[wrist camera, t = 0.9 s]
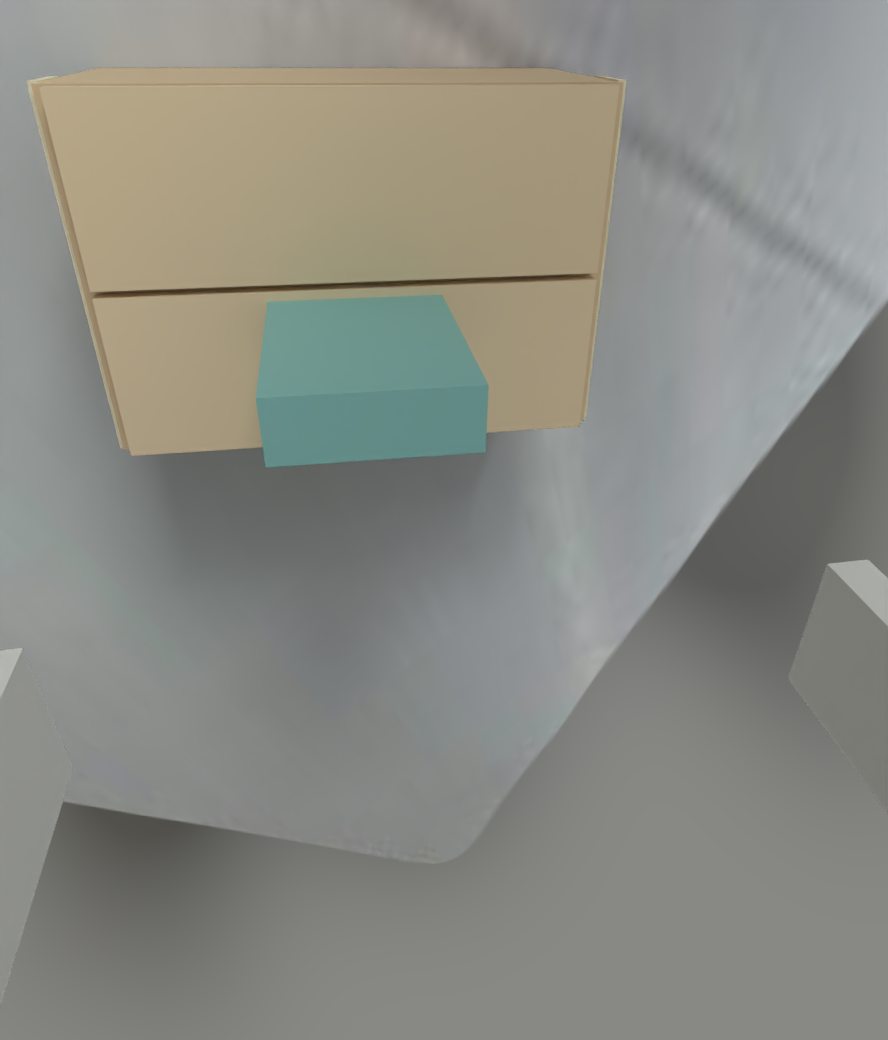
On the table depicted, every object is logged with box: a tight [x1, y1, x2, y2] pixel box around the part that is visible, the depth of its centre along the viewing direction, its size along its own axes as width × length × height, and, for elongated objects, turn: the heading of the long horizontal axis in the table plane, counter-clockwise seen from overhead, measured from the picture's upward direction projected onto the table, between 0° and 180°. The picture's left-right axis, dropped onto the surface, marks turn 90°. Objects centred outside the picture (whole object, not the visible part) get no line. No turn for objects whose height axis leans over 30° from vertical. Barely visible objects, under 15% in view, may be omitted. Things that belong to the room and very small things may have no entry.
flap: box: [92, 276, 597, 468], centre depth 24 cm, size 6×17×9 cm, turn 90°
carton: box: [26, 68, 627, 450], centre depth 30 cm, size 12×18×10 cm, turn 89°
